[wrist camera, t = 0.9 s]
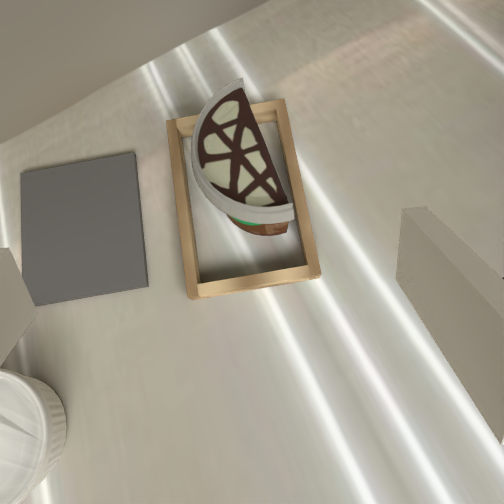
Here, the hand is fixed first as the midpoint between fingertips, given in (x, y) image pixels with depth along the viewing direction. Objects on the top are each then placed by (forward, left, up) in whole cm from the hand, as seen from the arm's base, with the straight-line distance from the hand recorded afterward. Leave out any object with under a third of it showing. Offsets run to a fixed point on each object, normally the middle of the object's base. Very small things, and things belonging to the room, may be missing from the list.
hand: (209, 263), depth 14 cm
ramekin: (+22, +6, -24) cm, 34 cm away
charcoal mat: (+15, -12, -24) cm, 31 cm away
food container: (-1, -12, -24) cm, 27 cm away
